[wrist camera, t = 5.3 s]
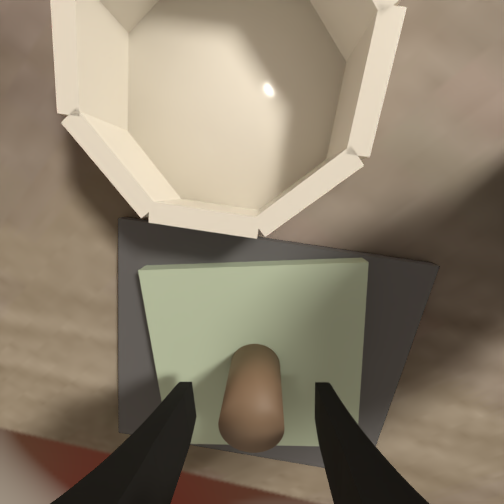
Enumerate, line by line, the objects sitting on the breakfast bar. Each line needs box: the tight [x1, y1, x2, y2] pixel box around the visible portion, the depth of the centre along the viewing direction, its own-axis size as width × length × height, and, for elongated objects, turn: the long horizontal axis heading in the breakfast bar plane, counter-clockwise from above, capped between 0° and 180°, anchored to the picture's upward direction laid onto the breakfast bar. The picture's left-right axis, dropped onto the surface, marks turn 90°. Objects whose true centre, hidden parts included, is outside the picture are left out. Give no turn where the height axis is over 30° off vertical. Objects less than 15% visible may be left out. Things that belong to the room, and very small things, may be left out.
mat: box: [118, 217, 440, 468], centre depth 14 cm, size 16×14×1 cm
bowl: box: [50, 0, 407, 239], centre depth 9 cm, size 11×11×4 cm
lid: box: [138, 258, 369, 453], centre depth 12 cm, size 11×11×4 cm
